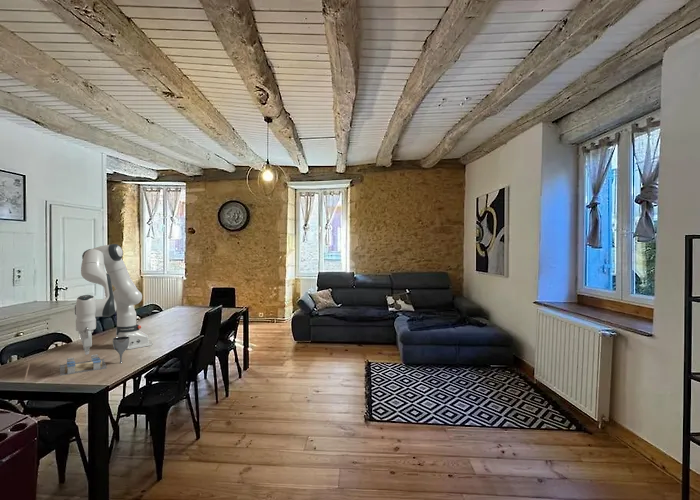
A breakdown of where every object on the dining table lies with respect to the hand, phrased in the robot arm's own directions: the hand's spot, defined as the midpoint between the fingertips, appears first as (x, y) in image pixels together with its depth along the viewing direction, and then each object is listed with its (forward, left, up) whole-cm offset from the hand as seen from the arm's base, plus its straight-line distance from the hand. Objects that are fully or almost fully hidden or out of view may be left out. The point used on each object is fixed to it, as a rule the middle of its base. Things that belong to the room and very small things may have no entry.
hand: (86, 352), depth 199 cm
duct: (+1, -6, -10) cm, 12 cm away
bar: (+1, 0, -9) cm, 9 cm away
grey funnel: (-16, -2, -10) cm, 19 cm away
